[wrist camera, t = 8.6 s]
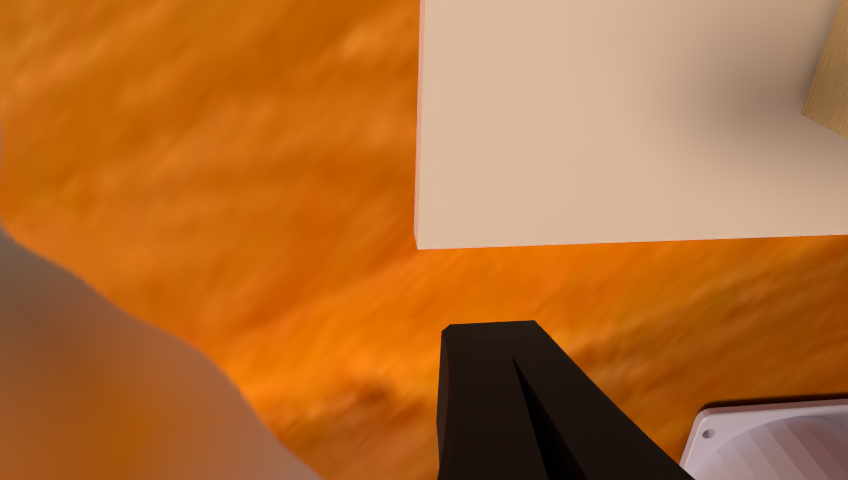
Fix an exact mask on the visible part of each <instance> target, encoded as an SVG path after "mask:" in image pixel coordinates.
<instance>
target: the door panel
mask: <svg viewBox="0 0 848 480" xmlns="http://www.w3.org/2000/svg"><path fill="white" fill-rule="evenodd" d="M839 3H840V0H420V27H419V64H418V101H417V138H416V174H415V211H414V235H415V239H416V244H417V249H446V248H474V247H503V246H531V245H560V244H588V243H616V242H645V241H673V240H701V239H730V238H758V237H786V236H815V235H843V234H848V139H846V138H844V137H842V136H840V135H838V134H837V133H835V132H833V131H831V130H829V129H827V128H826V127H824V126H822V125H820V124H818V123H816V122H815V121H813V120H811V119H809V118H807V117H805V116H804V115H802V114H801V112H802V109H803V106H804V103H805V100H806V97H807V95H808V92H809V89H810V86H811V83H812V80H813V77H814V75H815V72H816V69H817V66H818V63H819V60H820V57H821V55H822V52H823V49H824V46H825V43H826V40H827V37H828V35H829V32H830V29H831V26H832V23H833V20H834V17H835V14H836V12H837V9H838V6H839Z"/></svg>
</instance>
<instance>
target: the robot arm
mask: <svg viewBox="0 0 848 480" xmlns="http://www.w3.org/2000/svg"><path fill="white" fill-rule="evenodd" d="M436 424H437V434H438V446H439V466H440V468H439V473H438V479H437V480H848V399H835V400H821V401H806V402H792V403H777V404H762V405H748V406H733V407H719V408H708V409H705V410H703V411H701V412H700V413H699V414H698V415H697V417H696V418H695V421H694V424H693V427H692V430H691V433H690V435H689V438H688V441H687V444H686V447H685V450H684V453H683V455H682V458H681V461H680V464H679V465H678V464H677V463H676V462H675V461H674V460H673V459H672V458H670V457H669V456H668V455H667V454H666V453H665V452H664V451H663V450H662V449H661V448H660V447H659V446H658V445H656V444H655V443H654V442H653V441H652V440H651V439H650V438H649V437H648V436H647V435H646V434H645V433H644V432H643V431H642V430H641V429H640V428H639V427H638V426H637V425H636V424H635V423H634V422H633V421H632V420H631V419H629V418H628V417H627V416H626V415H625V414H624V413H623V412H622V411H621V410H620V409H619V408H618V407H617V406H616V405H615V404H614V403H613V402H612V401H611V400H610V399H609V398H608V397H607V396H606V395H605V394H604V393H603V392H602V391H601V390H600V389H599V388H598V387H597V386H596V385H595V384H594V382H593V381H592V380H591V379H590V378H589V377H588V376H587V375H586V374H585V373H584V372H583V371H582V370H581V369H580V368H579V367H578V366H577V365H576V364H575V363H574V362H573V360H572V359H571V358H570V357H569V356H568V355H567V354H566V353H565V352H564V351H563V350H562V349H561V348H560V347H559V346H558V344H557V343H556V342H555V341H554V340H553V339H552V338H551V337H550V336H549V335H548V334H547V333H546V332H545V331H544V330H543V329H542V328H541V327H540V326H539V325H538V324H537V323H536V322H535V320H531V321H511V322H491V323H471V324H450V325H449V326H448V327H447V328H445V329H444V330H443V331H442V335H441V352H440V369H439V386H438V403H437V421H436Z"/></svg>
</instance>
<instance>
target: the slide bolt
mask: <svg viewBox="0 0 848 480" xmlns="http://www.w3.org/2000/svg"><path fill="white" fill-rule="evenodd" d="M801 114H802V115H804V116H805V117H807V118H809V119H811V120H813V121H815V122H816V123H818V124H820V125H822V126H824V127H826V128H827V129H829V130H831V131H833V132H835V133H837V134H838V135H840V136H842V137H844V138H846V139H848V0H840V3H839V6H838V9H837V12H836V14H835V17H834V20H833V23H832V26H831V29H830V32H829V35H828V37H827V40H826V43H825V46H824V49H823V52H822V55H821V57H820V60H819V63H818V66H817V69H816V72H815V75H814V77H813V80H812V83H811V86H810V89H809V92H808V95H807V97H806V100H805V103H804V106H803V109H802V112H801Z"/></svg>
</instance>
